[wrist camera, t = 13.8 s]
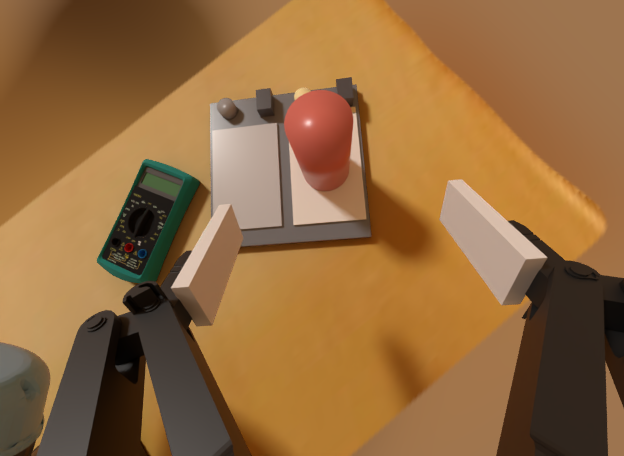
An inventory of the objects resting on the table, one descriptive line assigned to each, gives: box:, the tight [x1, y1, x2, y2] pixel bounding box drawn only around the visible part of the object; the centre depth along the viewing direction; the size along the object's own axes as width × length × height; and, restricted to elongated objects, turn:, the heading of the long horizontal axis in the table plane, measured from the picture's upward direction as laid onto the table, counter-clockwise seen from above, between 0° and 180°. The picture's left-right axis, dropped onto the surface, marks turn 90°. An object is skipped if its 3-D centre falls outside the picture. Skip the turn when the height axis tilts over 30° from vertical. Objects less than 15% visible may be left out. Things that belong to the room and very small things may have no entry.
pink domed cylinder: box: [284, 90, 353, 191], centre depth 25 cm, size 6×6×10 cm
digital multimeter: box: [97, 159, 200, 283], centre depth 32 cm, size 7×15×3 cm, turn 158°
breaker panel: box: [210, 77, 371, 247], centre depth 30 cm, size 19×19×3 cm
